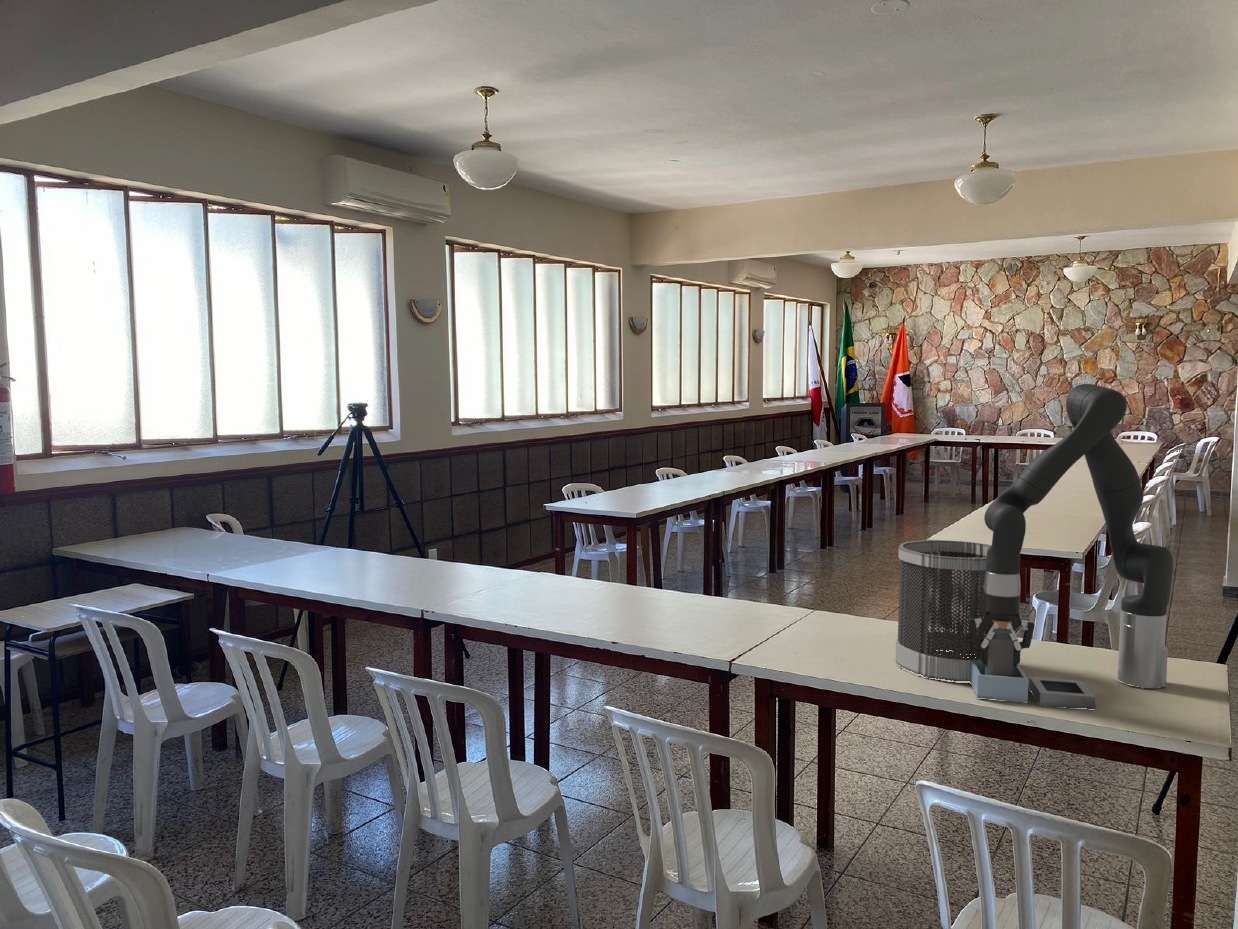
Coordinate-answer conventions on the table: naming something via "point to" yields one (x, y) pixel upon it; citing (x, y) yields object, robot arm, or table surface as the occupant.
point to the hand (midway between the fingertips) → (999, 664)
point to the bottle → (1000, 651)
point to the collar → (1062, 693)
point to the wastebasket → (939, 607)
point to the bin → (999, 684)
